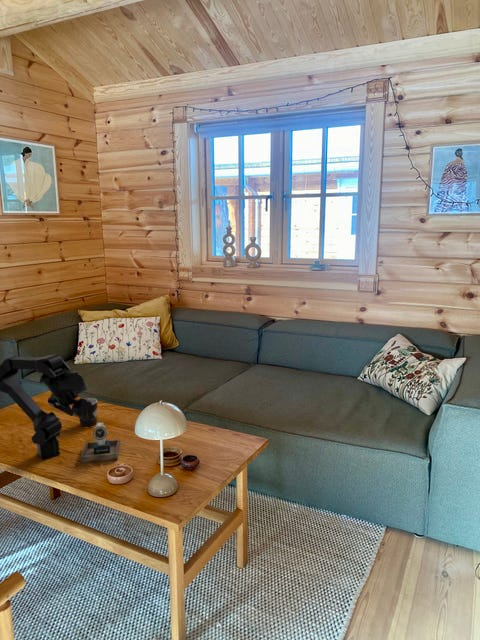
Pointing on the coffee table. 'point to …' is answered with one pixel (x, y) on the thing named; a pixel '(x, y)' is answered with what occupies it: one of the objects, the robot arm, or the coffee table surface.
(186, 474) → the coffee table surface
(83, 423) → the coffee mug
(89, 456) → the valet tray
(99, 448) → the watch
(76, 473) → the coffee table surface
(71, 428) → the coffee table surface
